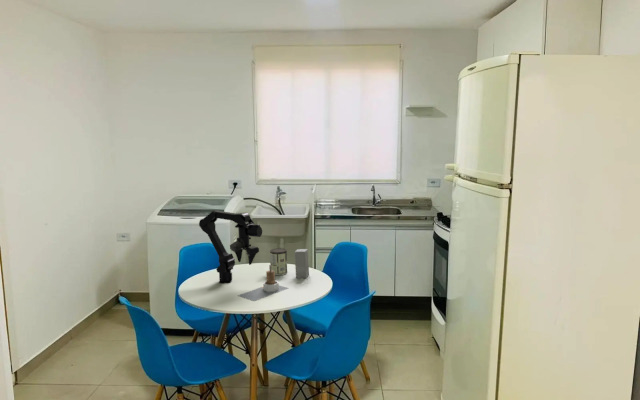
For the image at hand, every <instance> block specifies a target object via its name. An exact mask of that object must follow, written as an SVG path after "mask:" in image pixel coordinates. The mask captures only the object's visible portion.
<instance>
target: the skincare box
mask: <svg viewBox="0 0 640 400" xmlns="http://www.w3.org/2000/svg"><path fill="white" fill-rule="evenodd" d="M294 265H295V267H294V268H295V279H298V278H300V279H301V278H302V279H307V278H308V277H309V275H310V270H309V269H310V267H309V266H310V265H309V249H308V248H298V249H296V250H295V251H294Z"/></svg>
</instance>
